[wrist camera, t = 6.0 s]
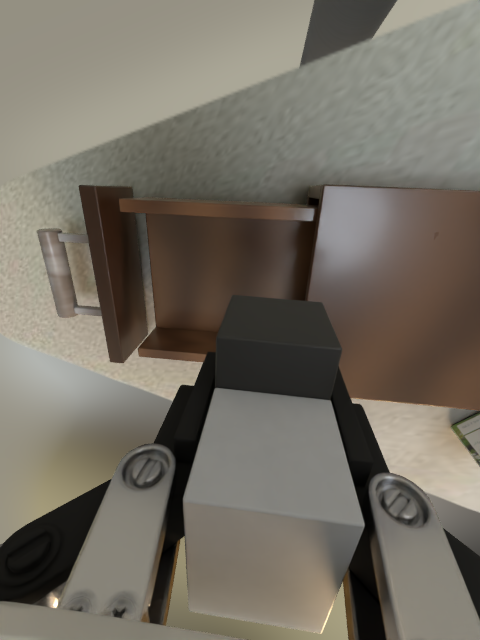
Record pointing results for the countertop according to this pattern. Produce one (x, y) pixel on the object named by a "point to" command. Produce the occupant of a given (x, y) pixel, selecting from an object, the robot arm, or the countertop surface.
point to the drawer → (179, 265)
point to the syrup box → (470, 435)
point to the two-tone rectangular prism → (271, 472)
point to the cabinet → (401, 290)
